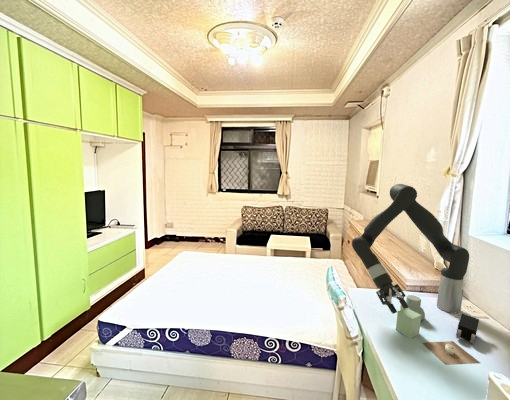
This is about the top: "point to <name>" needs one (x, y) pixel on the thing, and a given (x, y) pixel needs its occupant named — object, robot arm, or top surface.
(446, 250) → the robot arm
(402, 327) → the light green rectangular block
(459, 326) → the figurine character
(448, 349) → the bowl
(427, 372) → the top surface
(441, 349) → the walnut board
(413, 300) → the air freshener
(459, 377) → the top surface
